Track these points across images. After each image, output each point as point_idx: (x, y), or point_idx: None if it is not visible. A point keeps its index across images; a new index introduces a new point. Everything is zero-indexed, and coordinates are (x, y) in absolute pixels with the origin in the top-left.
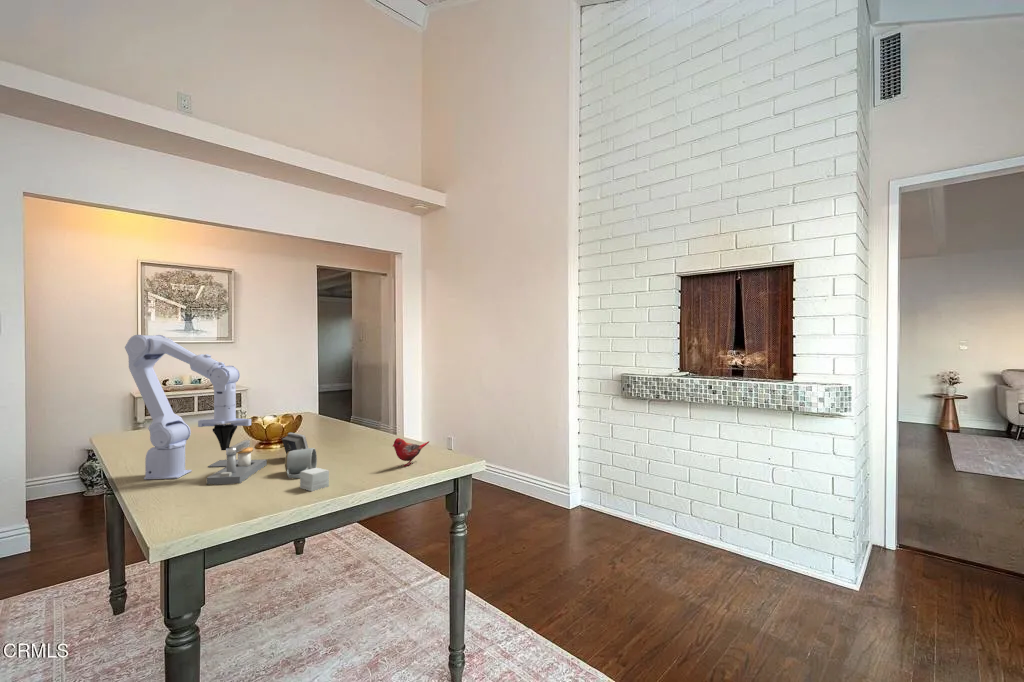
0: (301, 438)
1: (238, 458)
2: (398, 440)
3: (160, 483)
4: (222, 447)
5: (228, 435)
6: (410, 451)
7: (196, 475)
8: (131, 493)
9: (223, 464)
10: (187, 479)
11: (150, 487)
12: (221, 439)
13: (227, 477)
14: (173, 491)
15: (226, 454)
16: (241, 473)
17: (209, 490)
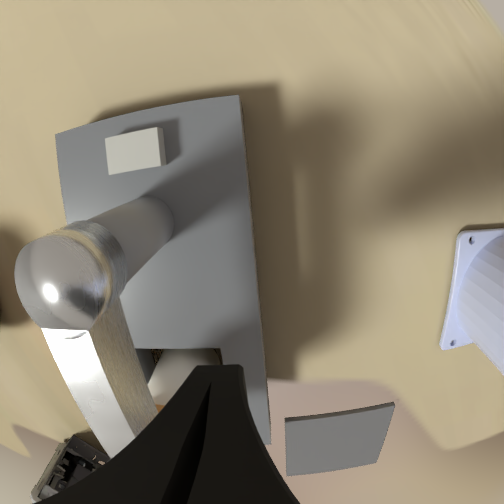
0: (40, 494)
1: None
2: None
3: (485, 161)
4: (218, 378)
5: (82, 479)
6: None
7: (398, 291)
8: (492, 36)
9: (339, 429)
10: (410, 219)
11: (487, 103)
12: (206, 449)
13: (113, 117)
14: (349, 10)
15: (105, 233)
16: (79, 200)
17: (167, 18)
